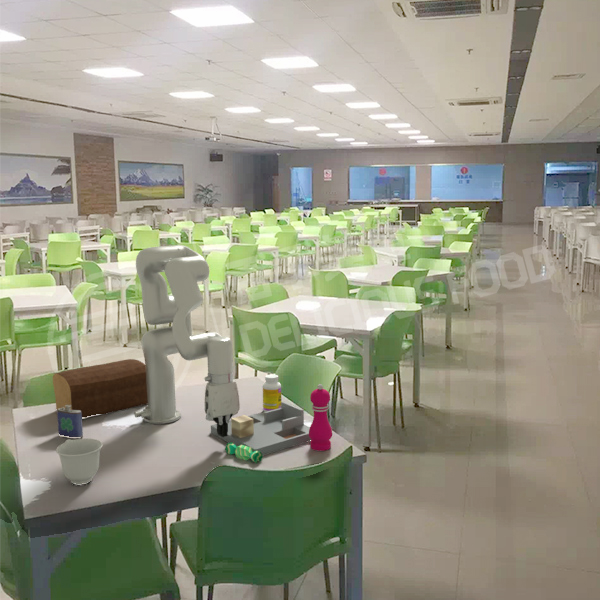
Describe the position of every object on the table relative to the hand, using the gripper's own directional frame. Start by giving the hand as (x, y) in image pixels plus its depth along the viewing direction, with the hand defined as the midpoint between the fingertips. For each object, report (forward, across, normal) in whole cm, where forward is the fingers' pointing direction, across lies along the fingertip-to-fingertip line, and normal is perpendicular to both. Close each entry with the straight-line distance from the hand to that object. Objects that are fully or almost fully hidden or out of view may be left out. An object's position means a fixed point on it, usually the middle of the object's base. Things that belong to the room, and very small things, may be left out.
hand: (222, 435), depth 205 cm
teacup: (+4, -43, +5) cm, 43 cm away
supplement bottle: (+4, +31, +18) cm, 36 cm away
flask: (+4, -34, +39) cm, 52 cm away
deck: (+4, +15, 0) cm, 16 cm away
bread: (+4, -14, +60) cm, 62 cm away
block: (+1, +7, 0) cm, 7 cm away
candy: (+4, +1, -11) cm, 12 cm away
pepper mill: (+4, +23, -19) cm, 30 cm away
